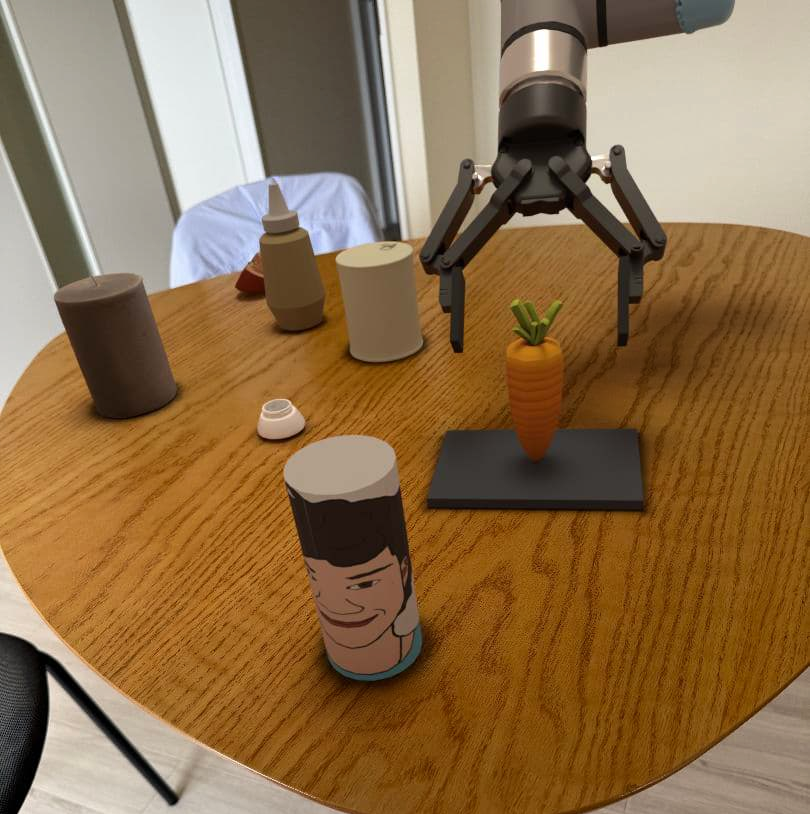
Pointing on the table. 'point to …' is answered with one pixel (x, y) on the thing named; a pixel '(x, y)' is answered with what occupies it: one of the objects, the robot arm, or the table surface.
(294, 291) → the squeeze bottle
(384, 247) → the can
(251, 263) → the fruit slice
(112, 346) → the pillar candle
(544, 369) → the carrot
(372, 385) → the table surface
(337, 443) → the printed cylindrical canister
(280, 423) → the lidless jar
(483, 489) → the felt mat
